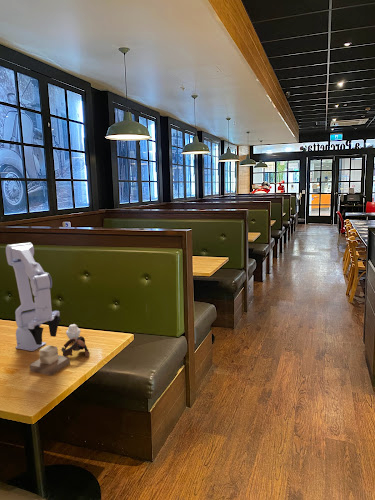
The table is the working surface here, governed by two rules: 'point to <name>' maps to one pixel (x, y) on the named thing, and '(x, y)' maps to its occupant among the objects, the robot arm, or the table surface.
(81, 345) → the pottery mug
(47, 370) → the grey flat square block
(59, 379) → the table surface
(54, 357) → the maple cube
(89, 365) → the table surface
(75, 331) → the white rounded piece
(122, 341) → the table surface
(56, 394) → the table surface
